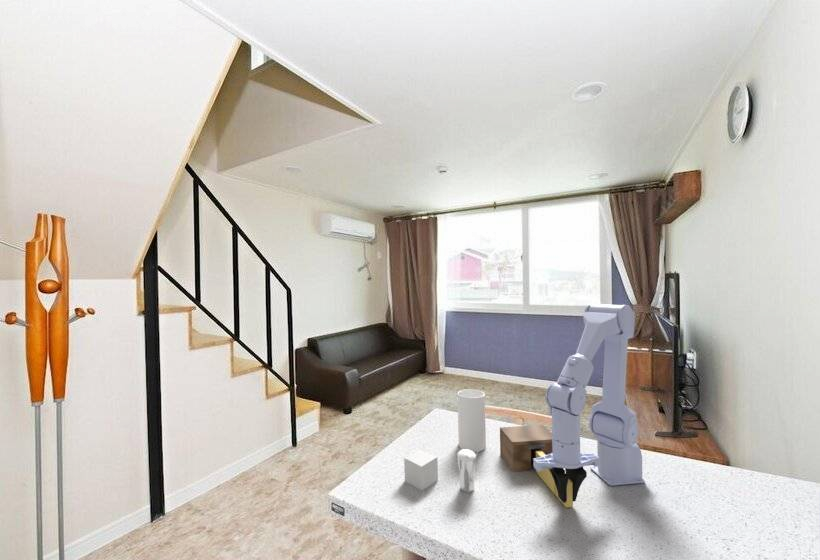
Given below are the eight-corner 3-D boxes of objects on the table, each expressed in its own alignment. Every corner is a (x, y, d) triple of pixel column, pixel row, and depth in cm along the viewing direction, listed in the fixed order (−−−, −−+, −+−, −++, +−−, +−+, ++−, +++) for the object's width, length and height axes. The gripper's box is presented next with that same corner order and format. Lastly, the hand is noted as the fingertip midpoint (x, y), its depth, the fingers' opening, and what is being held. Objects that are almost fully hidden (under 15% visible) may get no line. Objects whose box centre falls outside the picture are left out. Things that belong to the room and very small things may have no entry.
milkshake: (480, 495, 81) (479, 453, 81) (457, 493, 82) (456, 451, 82) (480, 484, 85) (479, 444, 85) (458, 482, 86) (457, 442, 86)
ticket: (542, 471, 90) (541, 450, 90) (573, 506, 76) (572, 482, 76) (535, 472, 90) (535, 451, 90) (565, 507, 76) (565, 482, 76)
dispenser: (543, 451, 101) (542, 424, 101) (560, 469, 91) (560, 439, 91) (500, 454, 100) (499, 427, 100) (513, 472, 90) (513, 443, 90)
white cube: (422, 491, 83) (421, 466, 83) (404, 481, 87) (404, 458, 87) (438, 480, 88) (437, 456, 87) (420, 471, 92) (420, 449, 92)
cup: (488, 451, 101) (487, 397, 101) (460, 452, 101) (459, 398, 101) (482, 438, 109) (481, 388, 109) (457, 439, 109) (456, 389, 109)
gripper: (585, 428, 82) (586, 485, 82) (526, 432, 80) (528, 490, 80) (605, 442, 75) (606, 505, 75) (541, 447, 73) (542, 511, 73)
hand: (567, 499), depth 77 cm, fingers closed on ticket, 2 cm apart
